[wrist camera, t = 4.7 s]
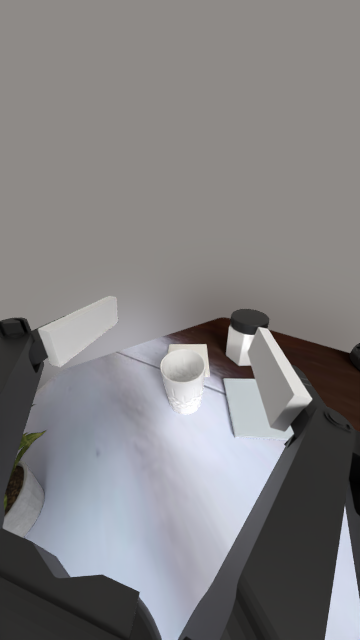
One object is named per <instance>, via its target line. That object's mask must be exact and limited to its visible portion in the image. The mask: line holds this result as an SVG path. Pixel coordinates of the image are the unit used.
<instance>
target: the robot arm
mask: <svg viewBox="0 0 360 640" xmlns="http://www.w3.org/2000/svg"><path fill="white" fill-rule="evenodd" d="M117 323H118V314H117V298H116V297H113V296H107V297H105V298H103V299H101V300H99V301H97V302H95V303H93V304H90V305H88V306H86V307H84V308H82V309H79V310H77V311H75V312H73V313H71V314H69V315H67V316H63V317H61V318H59V319H57V320H54V321H52V322H51V323H48V324H46V325H44V326H41V327H39V328H37V329H35V330H33V331H31V329H30V326H29V324H28V321H27V319H25V318H10V319H6V320H2V321H0V640H162V638H161V635H160V633H159V631H158V628H157V626H156V623H155V621H154V619H153V617H152V615H151V614H150V612H149V610H148V608H147V607H146V605H145V604H144V603H143V601H142V600H141V599H140V598H139V592H138V591H136V590H134V589H132V588H130V587H128V586H125V585H123V584H121V583H119V582H117V581H115V580H113V579H110V578H108V577H106V576H104V575H93V576H81V577H70V576H69V574H68V573H67V572H66V570H65V569H64V567H63V566H62V564H61V563H60V561H59V560H58V559H57V557H56V556H54V555H53V554H51V553H49V552H48V551H46V550H44V549H43V548H41V547H39V546H38V545H36V544H35V543H33V542H31V541H29V540H27V539H25V538H22V537H20V536H18V535H16V534H14V533H12V532H10V531H7V530H5V529H3V524H4V516H5V510H4V496H5V492H6V488H7V485H8V482H9V479H10V475H11V472H12V469H13V465H14V462H15V459H16V456H17V452H18V449H19V446H20V442H21V439H22V436H23V433H24V429H25V426H26V423H27V419H28V416H29V413H30V410H31V406H32V403H33V400H34V397H35V393H36V389H37V387H38V383H39V380H40V377H41V374H42V370H43V367H44V363H43V360H45V359H46V358H48V359H49V362H50V364H51V365H54V366H58V367H62V366H63V365H64V364H65V363H67V362H68V361H69V360H71V359H72V358H73V357H74V356H75V355H77V354H78V353H79V352H81V351H82V350H83V349H85V348H86V347H87V346H88V345H90V344H91V343H92V342H94V341H95V340H96V339H97V338H99V337H100V336H101V335H103V334H104V333H105V332H106V331H108V330H109V329H110V328H111V327H113V326H114V325H115V324H117ZM247 353H248V356H249V359H250V363H251V366H252V369H253V373H254V376H255V379H256V383H257V386H258V389H259V392H260V396H261V399H262V402H263V406H264V409H265V412H266V416H267V419H268V422H269V425H270V428H273V429H277V430H280V431H284V432H285V431H286V430H287V429H288V428H289V426H291V428H292V430H293V433H294V434H293V435H292V436H291V437H290V438H289V439H288V441H287V442H286V443H285V444H284V445H285V446H286V447H285V449H284V450H283V452H282V454H281V456H280V458H279V460H278V462H277V463H276V465H275V467H274V469H273V471H272V473H271V475H270V477H269V478H268V480H267V482H266V484H265V486H264V488H263V490H262V491H261V493H260V495H259V497H258V499H257V501H256V503H255V504H254V506H253V508H252V510H251V512H250V514H249V516H248V518H247V519H246V521H245V523H244V525H243V527H242V529H241V531H240V532H239V534H238V536H237V538H236V540H235V542H234V544H233V545H232V547H231V549H230V551H229V553H228V555H227V557H226V558H225V560H224V562H223V564H222V566H221V568H220V570H219V572H218V573H217V575H216V577H215V579H214V581H213V583H212V584H211V586H210V588H209V589H208V591H207V592H206V594H205V595H204V596H203V598H202V599H201V600H200V602H199V603H198V605H197V607H196V608H195V610H194V612H193V613H192V615H191V617H190V619H189V620H188V622H187V624H186V626H185V628H184V629H183V631H182V633H181V635H180V637H179V639H178V640H325V633H326V627H327V620H328V613H329V607H330V600H331V593H332V587H333V580H334V573H335V567H336V560H337V553H338V547H339V540H340V533H341V527H342V520H343V513H344V507H346V514H347V520H348V527H349V533H350V539H351V546H352V552H353V559H354V565H355V572H356V578H357V585H358V591H359V597H360V432H358V431H356V430H354V428H353V427H352V425H351V424H350V423H349V422H348V421H347V420H346V418H345V417H343V416H342V415H341V414H339V413H338V412H336V411H334V410H333V409H331V408H328V407H327V406H326V405H325V404H324V402H323V401H322V399H321V398H320V396H319V395H318V393H317V392H316V391H315V389H314V388H313V386H311V383H310V382H309V381H308V379H307V378H306V376H305V375H304V373H303V372H302V371H301V370H300V369H298V368H297V367H296V366H294V365H290V363H289V362H288V360H287V358H286V357H285V355H284V354H283V352H282V351H281V349H280V347H279V346H278V344H277V343H276V341H275V340H274V338H273V336H272V335H271V333H270V332H269V330H268V329H266V328H261V327H258V329H257V331H256V333H255V336H254V338H253V340H252V343H251V345H250V347H249V349H248V352H247ZM349 356H350V360H351V361H352V363H353V364H354V365H355V366H356V367H357V368H358V369H359V370H360V343H359V344H357V345H356V346H355V347H354V348H353V350H352V351H351V353H350V355H349ZM137 602H138V603H137ZM135 611H136V612H135ZM133 620H134V621H133Z"/></svg>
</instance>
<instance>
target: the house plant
mask: <svg viewBox="0 0 360 640" xmlns="http://www.w3.org/2000/svg"><path fill="white" fill-rule="evenodd" d="M34 405H35V404H34ZM32 406H33V405H32ZM32 406H31V407H32ZM44 432H45V431H43V432H42V433H31V434H28V435H26V434H27V433H25V434H23V436H22V439H21V442H20V446H19V449H21V448H22V447H23V446H24V447H23V448H22V449H21V451H20V452H19V454H18V456H17V458H16V460H15V462H14V465H13V469H12V472H11V475H10V479H9V482H8V485H7V488H6V492H5V496H4V510H5V516H4V524H3V529H5V530H7V531H10V532H12V533H14V534H16V535H18V536H20V537H22V538H23V537H24V536H25V535H26V534H27V533H28V532H29V530H30V529H31V527H32V526H33V525H34V523H35V522H36V520H37V518H38V516H39V514H40V512H41V509H42V507H43V503H44V491H43V489H42V487H41V486H40V484H39V483H38V481H37V480H36V478H35V477H34V475H33V474H32V472H31V471H30V469H29V468H28V466H27V465H26V463H24V462H23V461H21V460H20V459H21V457H22V456H23V454H24V453H25V452H26V450H27V449H28V448H29V447H30V445H31V444H32V443H33V442H34V441H35V440H36V439H37V438H38V437H40V436H41V435H42V434H43V433H44ZM28 433H29V432H28ZM25 435H26V436H25ZM19 449H18V450H19Z"/></svg>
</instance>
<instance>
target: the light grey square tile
mask: <svg viewBox="0 0 360 640" xmlns="http://www.w3.org/2000/svg"><path fill="white" fill-rule="evenodd" d="M223 382H224V387H225V391H226V396H227V401H228V406H229V411H230V416H231V421H232V426H233V431H234V436H235V438H252V439H269V440H286V441H288V439H289V438H290V437H291V436H292V435H293V434H294V433H293V430H292V428H291V426H289V428H288V429H287V430H286V431H285V432H284V431H280V430H277V429H273V428H270V425H269V422H268V419H267V416H266V412H265V409H264V406H263V402H262V399H261V396H260V392H259V389H258V386H257V383H256V379H225V378H224V380H223Z"/></svg>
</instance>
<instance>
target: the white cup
mask: <svg viewBox="0 0 360 640" xmlns="http://www.w3.org/2000/svg"><path fill="white" fill-rule="evenodd" d="M205 367H206V365H205V360H204V358H203V357H202V356H201V355H200V354H199V353H197V352H196V351H193V350H190V349H178V350H174V351H172V352H170V353H168V354H167V355H166V356H165V357H164V358H163V359H162V361H161V364H160V370H161V374H162V378H163V382H164V386H165V390H166V393H167V396H168V399H169V403H170V406H171V407H172V408H173V410H174V411H175V412H177V413H179V414H182V415H183V414H191V413H193V412H195V411H197V409H198V408H199V406H200V405H201V399H202V394H203V387H204V377H205Z"/></svg>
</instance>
